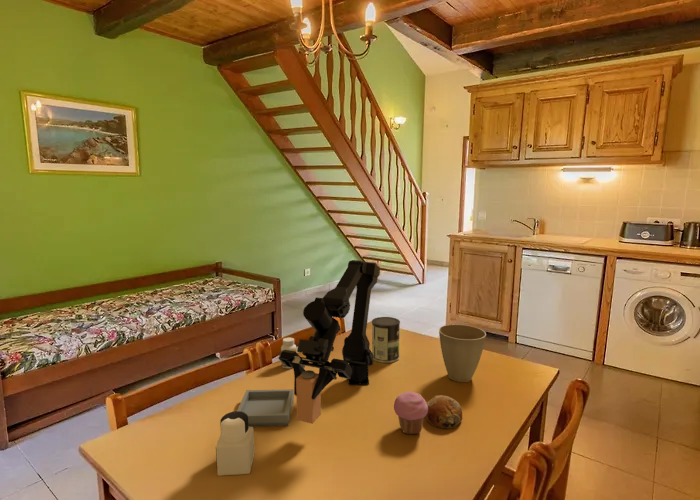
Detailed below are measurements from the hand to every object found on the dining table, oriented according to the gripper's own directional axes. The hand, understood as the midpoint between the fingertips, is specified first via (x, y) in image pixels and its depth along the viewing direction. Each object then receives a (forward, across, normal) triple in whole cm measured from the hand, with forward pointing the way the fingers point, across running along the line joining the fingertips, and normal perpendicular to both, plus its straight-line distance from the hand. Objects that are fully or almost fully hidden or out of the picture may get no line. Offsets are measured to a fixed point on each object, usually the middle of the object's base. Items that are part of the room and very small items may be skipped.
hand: (303, 397), depth 99 cm
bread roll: (-8, +30, +26) cm, 40 cm away
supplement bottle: (-17, -27, +34) cm, 47 cm away
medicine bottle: (+18, -10, -1) cm, 21 cm away
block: (+3, 0, +6) cm, 7 cm away
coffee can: (-31, +2, +49) cm, 58 cm away
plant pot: (-27, +30, +45) cm, 60 cm away
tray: (+3, -17, +14) cm, 22 cm away
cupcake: (-2, +23, +19) cm, 30 cm away
